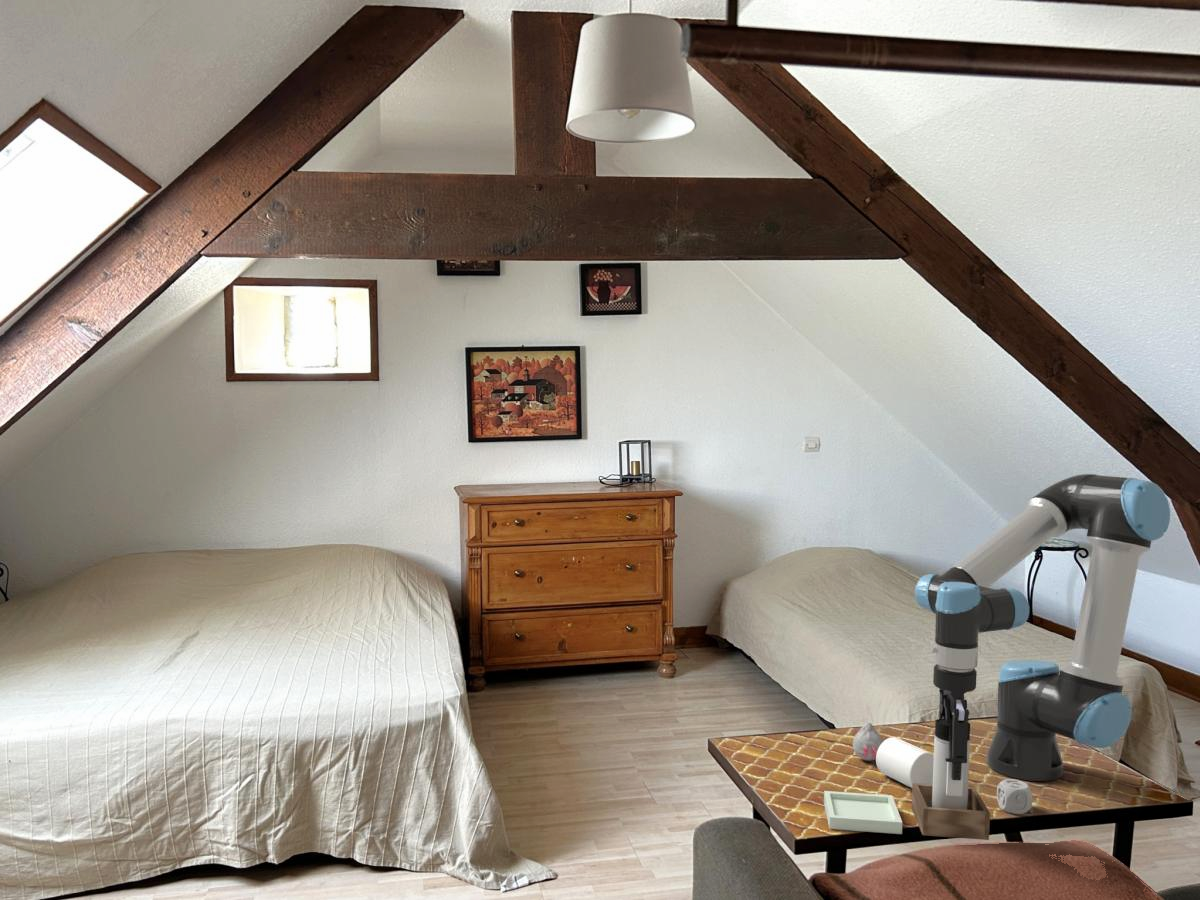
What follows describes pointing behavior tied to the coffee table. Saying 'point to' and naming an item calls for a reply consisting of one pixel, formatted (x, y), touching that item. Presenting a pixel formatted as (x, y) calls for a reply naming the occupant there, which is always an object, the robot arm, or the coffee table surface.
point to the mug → (905, 762)
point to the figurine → (867, 742)
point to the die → (1014, 796)
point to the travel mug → (941, 770)
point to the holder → (950, 815)
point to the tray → (862, 812)
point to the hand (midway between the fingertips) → (950, 787)
